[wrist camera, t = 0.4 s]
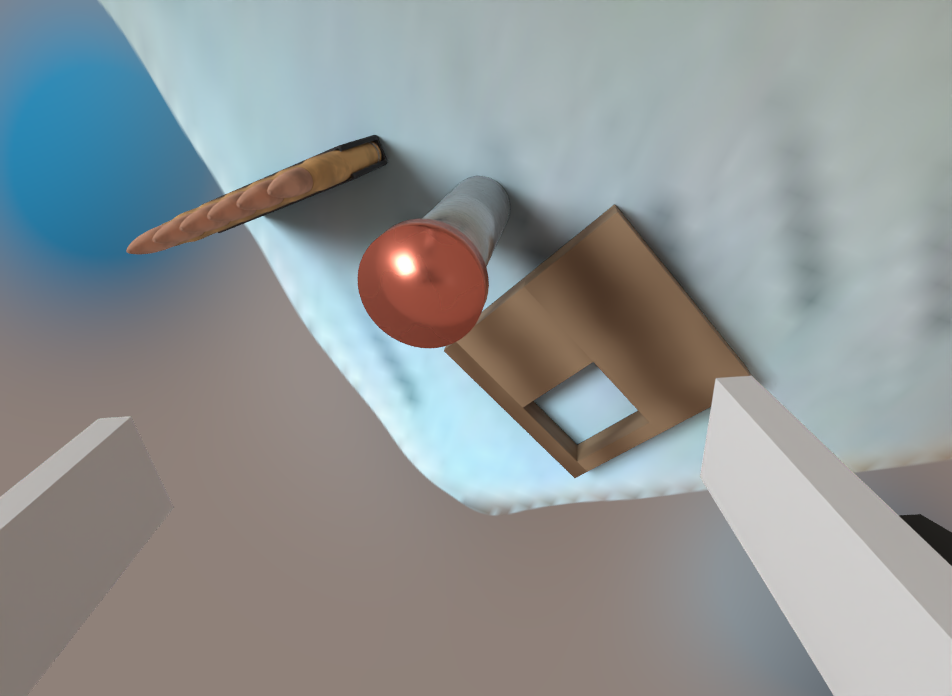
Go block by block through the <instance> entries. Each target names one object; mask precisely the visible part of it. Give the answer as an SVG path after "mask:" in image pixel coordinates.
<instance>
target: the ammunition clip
mask: <svg viewBox="0 0 952 696" xmlns="http://www.w3.org/2000/svg"><path fill="white" fill-rule="evenodd" d="M387 163H388V161H387V159H386V156H385V154H384V152H383V149H382V147H381V144H380V142H379V140H378V137H377V135H372V136H369V137H366V138H362V139H359V140H356V141H352V142H349V143H346V144H342V145H339V146H337V147H334V148H332V149H330V150H327V151H325V152H323V153H320V154H318V155H316V156H314V157H311V158H309V159H307V160H304V161H302V162H300V163H297V164H295V165H293V166H290V167H288V168H286V169H283V170H281V171H279V172H276V173H274V174H272V175H269V176H267V177H265V178H263V179H260V180H258V181H256V182H253V183H251V184H249V185H246V186H244V187H242V188H239V189H237V190H235V191H232V192H230V193H228V194H225V195H223V196H221V197H219V198H216V199H214V200H212V201H209V202H207V203H205V204H202V205H201V206H200V207H198V208H195V209H192V210H190V211H187V212H184V213H182V214H180V215H178V216H177V217H175V218H174V219H173V220H171V221H169V222H166V223H164V224H162V225H161V226H158V227H156V228H153V229H151V230H149V231H147V232H145V233H143V234H142V235H140V236H139V237H137V238H136V239H135V240H134V241H133V242H132V243H131V244H130V245H129V246H128V248H127V252H128V253H131V254H148V253H154V252H158V251H162V250H165V249H168V248H170V247H173V246H177V245H180V244H183V243H186V242H193V241H197V240H200V239H202V238H205V237H207V236H209V235H212V234H214V233H216V232H218V233H221V232H223V231H226V230H228V229H231V228H234V227H236V226H238V225H241V224H244V223H246V222H249V221H251V220H254V219H256V218H259V217H261V216H264V215H266V214H269V213H271V212H274V211H276V210H279V209H281V208H284V207H286V206H289V205H291V204H294V203H296V202H299V201H301V200H304V199H306V198H309V197H311V196H314V195H316V194H319V193H321V192H324V191H326V190H329V189H331V188H334V187H336V186H339V185H341V184H344V183H346V182H349V181H351V180H354V179H356V178H358V177H360V176H362V175H365V174H367V173H369V172H371V171H373V170H375V169H377V168H380V167H382V166H384V165H386V164H387Z"/></svg>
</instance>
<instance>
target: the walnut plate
mask: <svg viewBox="0 0 952 696" xmlns="http://www.w3.org/2000/svg"><path fill="white" fill-rule="evenodd" d="M444 352H445V353H447V354H448V355H449V356H450V357H451V358H452V359H453V360H454V361H455V362H456V363H457V364H458V365H459V366H460V367H461V368H462V369H463V370H464V371H465V372H466V373H467V374H468V375H469V376H470V377H471V378H472V379H473V380H474V381H475V382H476V383H477V384H478V385H479V386H480V387H481V388H483V389H484V390H485V391H486V392H487V393H488V394H489V395H490V396H491V397H492V398H493V399H494V400H495V401H496V402H497V403H498V404H499V405H500V406H501V407H502V408H503V409H504V410H505V411H506V412H507V413H508V414H509V415H510V416H511V417H512V418H513V419H514V420H515V421H516V422H517V423H519V424H520V425H521V426H522V427H523V428H524V429H525V430H526V431H527V432H528V433H529V434H530V435H531V436H532V437H533V438H534V439H535V440H536V441H537V442H538V443H539V444H540V445H541V446H542V447H543V448H544V449H545V450H546V451H547V452H548V453H549V454H550V455H551V456H552V457H553V458H554V459H556V460H557V461H558V462H559V463H560V464H561V465H562V466H563V467H564V468H565V469H566V470H567V471H568V472H569V473H570V474H571V475H572V476H573V477H574V478H576V477H578V476H580V475H582V474H584V473H586V472H588V471H589V470H591V469H593V468H595V467H597V466H599V465H601V464H603V463H605V462H607V461H609V460H610V459H612V458H614V457H616V456H618V455H620V454H622V453H624V452H626V451H628V450H629V449H631V448H633V447H635V446H637V445H639V444H641V443H643V442H645V441H647V440H648V439H650V438H652V437H654V436H656V435H658V434H660V433H662V432H664V431H666V430H667V429H669V428H671V427H673V426H675V425H677V424H679V423H681V422H683V421H685V420H686V419H688V418H690V417H692V416H694V415H696V414H698V413H700V412H702V411H704V410H706V409H707V408H709V407H711V405H712V399H713V392H714V386H715V380H716V378H724V377H740V376H752V375H751V374H750V372H749V370H748V369H747V367H746V366H745V365H744V363H743V362H742V361H741V360H740V358H739V357H738V356H737V355H736V354H735V352H734V351H733V350H732V349H731V347H730V346H729V345H728V344H727V342H726V341H725V340H724V339H723V337H722V336H721V335H720V334H719V332H718V331H717V330H716V329H715V328H714V326H713V325H712V324H711V323H710V321H709V320H708V319H707V318H706V316H705V315H704V314H703V313H702V311H701V310H700V309H699V308H698V307H697V305H696V304H695V303H694V302H693V300H692V299H691V298H690V297H689V295H688V294H687V293H686V292H685V290H684V289H683V288H682V287H681V286H680V284H679V283H678V282H677V281H676V279H675V278H674V277H673V276H672V274H671V273H670V272H669V271H668V269H667V268H666V267H665V266H664V264H663V263H662V262H661V261H660V260H659V258H658V257H657V256H656V255H655V253H654V252H653V251H652V250H651V248H650V247H649V246H648V245H647V243H646V242H645V241H644V240H643V239H642V237H641V236H640V235H639V234H638V232H637V231H636V230H635V229H634V227H633V226H632V225H631V224H630V222H629V221H628V220H627V219H626V218H625V216H624V215H623V214H622V213H621V211H620V210H619V209H618V208H617V206H616V205H615V204H614V205H613V206H612V207H611V208H609V209H608V210H607V211H606V212H605V213H603V214H602V215H601V216H600V217H598V218H597V219H596V220H595V221H593V222H592V223H591V224H590V225H589V226H587V227H586V228H585V229H584V230H582V231H581V232H580V233H579V234H577V235H576V236H575V237H574V238H572V239H571V240H570V241H569V242H568V243H566V244H565V245H564V246H563V247H561V248H560V249H559V250H558V251H556V252H555V253H554V254H553V255H552V256H550V257H549V258H548V259H547V260H545V261H544V262H543V263H542V264H540V265H539V266H538V267H537V268H536V269H534V270H533V271H532V272H531V273H529V274H528V275H527V276H526V277H524V278H523V279H522V280H521V281H520V282H518V283H517V284H516V285H515V286H513V287H512V288H511V289H510V290H508V291H507V292H506V293H505V294H503V295H502V296H501V297H500V298H499V299H497V300H496V301H495V302H494V303H492V304H491V305H490V306H489V307H487V308H486V309H485V310H484V311H483V312H481V314H480V317H479V319H478V321H477V323H476V324H475V326H474V327H473V328H472V330H471V331H470V332H469V333H468V334H467V335H466V336H465V337H463V338H462V339H460V340H459V341H457V342H455V343H453V344H450V345H447V346H446V347H445V349H444ZM592 362H594V363H595V364H596V365H597V366H598V367H599V368H600V370H601V371H602V372H603V373H604V374H605V375H606V376H607V377H608V378H609V379H610V380H611V381H612V383H613V384H614V385H615V386H616V387H617V388H618V389H619V390H620V391H621V392H622V393H623V395H624V396H625V397H626V398H627V399H628V400H629V401H630V402H631V403H632V404H633V405H634V406H635V408H636V409H637V410H638V411H637V412H635V413H633V414H631V415H630V416H628V417H626V418H624V419H622V420H621V421H619V422H617V423H615V424H614V425H612V426H610V427H608V428H606V429H605V430H603V431H601V432H599V433H598V434H596V435H594V436H592V437H590V438H589V439H587V440H585V441H583V442H582V443H580V444H578V445H577V444H576V443H575V442H574V441H573V440H572V439H571V438H570V437H569V436H568V435H567V434H566V433H565V432H564V431H563V430H562V429H561V428H560V427H559V426H558V425H557V424H556V423H555V422H554V421H553V420H552V419H551V418H550V417H549V416H548V415H547V414H546V413H545V412H544V411H543V410H542V409H541V408H540V407H539V406H538V405H537V404H536V403H535V402H534V400H535V399H537V398H538V397H540V396H541V395H543V394H545V393H546V392H548V391H549V390H551V389H552V388H554V387H555V386H557V385H558V384H560V383H562V382H563V381H565V380H566V379H568V378H569V377H571V376H572V375H574V374H575V373H577V372H578V371H580V370H582V369H583V368H585V367H586V366H588V365H589V364H591V363H592Z"/></svg>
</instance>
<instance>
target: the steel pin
mask: <svg viewBox="0 0 952 696" xmlns="http://www.w3.org/2000/svg"><path fill="white" fill-rule="evenodd" d="M509 215H510V201H509V198H508V195H507V193H506V191H505V190H504V188H503V187H502V186H501V185H500V184H499V183H498V182H496V181H495V180H493V179H491V178H489V177H485V176H473V177H470V178H467V179H465V180H463V181H462V182H461V183H460V184H458V185H457V186H456V187H455V188H454V189H453V190H452V191H451V192H450V193H449V194H448V195H447V196H446V197H444V198H443V199H442V200H441V201H440V202H439V203H438V204H437V205H436V206H435V207H434V208H433V209H432V210H430V211H429V212H428V213H427V214H426V215H425V216H424V217H423V218H422V219H411V220H406V221H403V222H400V223H398V224H396V225H394V226H392V227H391V228H389V229H388V230H387V231H385V232H384V233H383V234H382V235H381V236H379V237H378V238H377V239H376V240H375V241H374V242H373V243H372V244H371V245H370V246H369V247H368V248H367V250H366V252H365V253H364V255H363V257H362V260H361V262H360V266H359V270H358V289H359V294H360V297H361V300H362V303H363V305H364V307H365V309H366V311H367V313H368V314H369V316H370V317H371V319H372V320H373V321H374V322H375V324H376V325H377V326H378V327H379V328H380V329H382V330H383V331H384V332H385V333H386V334H388V335H389V336H391V337H392V338H394V339H396V340H398V341H400V342H402V343H405V344H407V345H411V346H414V347H420V348H439V347H444V346H447V345H450V344H453V343H455V342H457V341H459V340H460V339H462V338H463V337H465V336H466V335H467V334H468V333H469V332H470V331H471V330H472V328H473V327H474V326H475V324H476V323H477V321H478V319H479V317H480V314H481V312H482V309H483V307H484V304H485V302H486V299H487V295H488V287H489V281H488V273H487V268H486V266H487V264H488V262H489V260H490V258H491V256H492V253H493V251H494V249H495V247H496V245H497V243H498V240H499V238H500V236H501V234H502V232H503V230H504V227H505V225H506V223H507V221H508V218H509Z"/></svg>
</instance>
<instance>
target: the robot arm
mask: <svg viewBox="0 0 952 696" xmlns="http://www.w3.org/2000/svg"><path fill="white" fill-rule="evenodd" d="M700 478H701V479H702V481H703V483H704V484H705V486H706V488H707V489H708V491H709V492H710V494H711V496H712V497H713V499H714V501H715V502H716V504H717V505H718V507H719V509H720V510H721V512H722V514H723V515H724V517H725V518H726V520H727V522H728V523H729V525H730V527H731V528H732V530H733V532H734V533H735V535H736V536H737V538H738V540H739V541H740V543H741V545H742V546H743V548H744V550H745V551H746V553H747V554H748V556H749V558H750V559H751V561H752V563H753V564H754V566H755V567H756V569H757V571H758V572H759V574H760V576H761V577H762V579H763V580H764V582H765V584H766V585H767V587H768V589H769V590H770V592H771V593H772V595H773V597H774V598H775V600H776V602H777V603H778V605H779V607H780V608H781V610H782V611H783V613H784V615H785V616H786V618H787V620H788V621H789V623H790V625H791V626H792V628H793V629H794V631H795V633H796V634H797V636H798V638H799V639H800V641H801V643H802V644H803V646H804V647H805V649H806V651H807V652H808V654H809V656H810V657H811V659H812V660H813V662H814V664H815V665H816V667H817V669H818V670H819V672H820V674H821V675H822V677H823V678H824V680H825V682H826V683H827V685H828V687H829V688H830V690H831V691H832V693H833V695H834V696H952V532H950V531H948V530H946V529H945V528H943V527H941V526H940V525H938V524H936V523H934V522H933V521H931V520H929V519H928V518H926V517H924V516H922V515H921V514H918V515H900V516H898V515H897V514H896V513H895V512H894V511H893V510H892V509H891V508H890V507H889V506H888V505H887V504H886V503H885V502H884V501H883V500H882V499H880V497H879V496H877V495H876V494H875V493H874V492H873V491H872V490H871V489H870V488H869V487H868V486H867V485H866V484H865V483H864V482H863V481H862V480H861V479H860V478H859V477H857V476H856V475H855V474H854V473H853V472H852V471H851V470H850V469H849V468H848V467H847V466H846V465H845V464H844V463H843V462H842V461H841V460H840V459H839V458H838V457H837V456H835V455H834V454H833V453H832V452H831V451H830V450H829V449H828V448H827V447H826V446H825V445H824V444H823V443H822V442H821V441H820V440H819V439H818V438H817V437H816V436H814V435H813V434H812V433H811V432H810V431H809V430H808V429H807V428H806V427H805V426H804V425H803V424H802V423H801V422H800V421H799V420H798V419H797V418H796V417H795V416H793V415H792V414H791V413H790V412H789V411H788V410H787V409H786V408H785V407H784V406H783V405H782V404H781V403H780V402H779V401H778V400H777V399H776V398H775V397H773V396H772V395H771V394H770V393H769V392H768V391H767V390H766V389H765V388H764V387H763V386H762V385H761V384H760V383H759V382H758V381H757V380H756V379H755V378H754V377H752V376H740V377H724V378H716V380H715V386H714V392H713V399H712V405H711V411H710V417H709V424H708V430H707V436H706V442H705V449H704V455H703V461H702V468H701V474H700ZM173 508H174V506H173V504H172V502H171V500H170V498H169V496H168V493H167V491H166V489H165V487H164V485H163V483H162V481H161V479H160V477H159V475H158V472H157V470H156V468H155V466H154V464H153V462H152V460H151V457H150V455H149V453H148V451H147V449H146V447H145V445H144V442H143V440H142V438H141V436H140V434H139V432H138V430H137V428H136V425H135V423H134V421H133V419H132V417H131V416H130V417H114V418H99V419H98V420H96V421H95V422H94V423H93V424H91V425H90V426H89V427H88V428H86V429H85V430H84V431H83V432H82V433H80V434H79V435H78V436H76V437H75V438H74V439H73V440H71V441H70V442H69V443H67V444H66V445H65V446H64V447H62V448H61V449H60V450H59V451H57V452H56V453H55V454H54V455H52V456H51V457H50V458H49V459H47V460H46V461H45V462H44V463H42V464H41V465H40V466H39V467H37V468H36V469H35V470H34V471H32V472H31V473H30V474H29V475H27V476H26V477H25V478H24V479H22V480H21V481H20V482H19V483H17V484H16V485H15V486H13V487H12V488H11V489H10V490H8V491H7V492H6V493H5V494H4V495H2V496H1V497H0V696H27V695H28V694H29V693H30V691H31V690H32V689H33V688H34V686H35V685H36V684H37V683H38V681H39V680H40V679H41V677H42V676H43V675H44V674H45V672H46V671H47V670H48V668H49V667H50V666H51V665H52V663H53V662H54V661H55V659H56V658H57V657H58V656H59V654H60V653H61V652H62V650H63V649H64V648H65V647H66V645H67V644H68V643H69V641H70V640H71V639H72V638H73V636H74V635H75V634H76V632H77V631H78V630H79V629H80V627H81V626H82V625H83V623H84V622H85V621H86V620H87V618H88V617H89V616H90V614H91V613H92V612H93V611H94V609H95V608H96V607H97V605H98V604H99V603H100V601H101V600H102V599H103V598H104V596H105V595H106V594H107V593H108V591H109V590H110V589H111V587H112V586H113V585H114V584H115V582H116V581H117V580H118V578H119V577H120V576H121V575H122V573H123V572H124V571H125V570H126V568H127V567H128V566H129V564H130V563H131V562H132V560H133V559H134V558H135V557H136V555H137V554H138V553H139V551H140V550H141V549H142V548H143V546H144V545H145V544H146V543H147V541H148V540H149V539H150V537H151V536H152V535H153V534H154V532H155V531H156V530H157V528H158V527H159V526H160V525H161V523H162V522H163V521H164V519H165V518H166V517H167V516H168V514H169V513H170V512H171V510H172V509H173Z"/></svg>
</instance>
